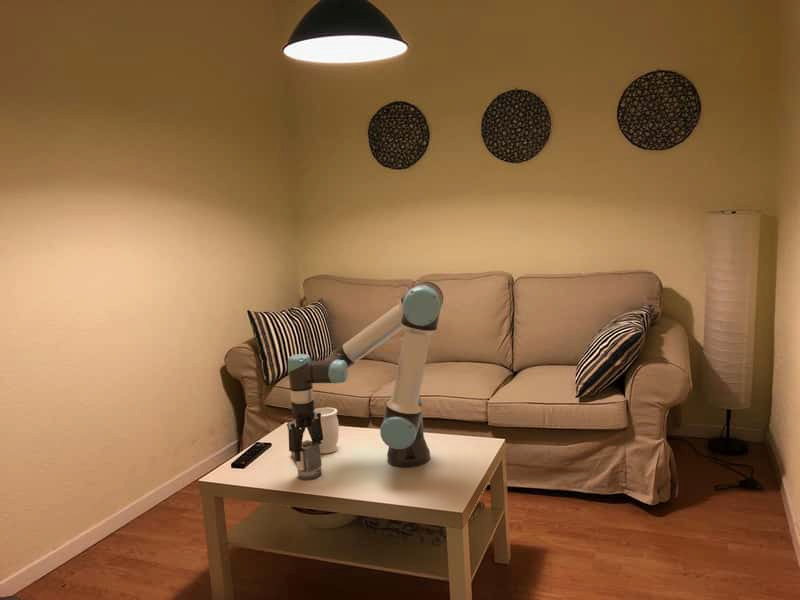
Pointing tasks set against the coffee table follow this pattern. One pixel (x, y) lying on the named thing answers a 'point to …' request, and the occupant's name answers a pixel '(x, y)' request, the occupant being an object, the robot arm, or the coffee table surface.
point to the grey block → (311, 455)
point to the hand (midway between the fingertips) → (308, 465)
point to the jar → (328, 429)
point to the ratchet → (308, 475)
